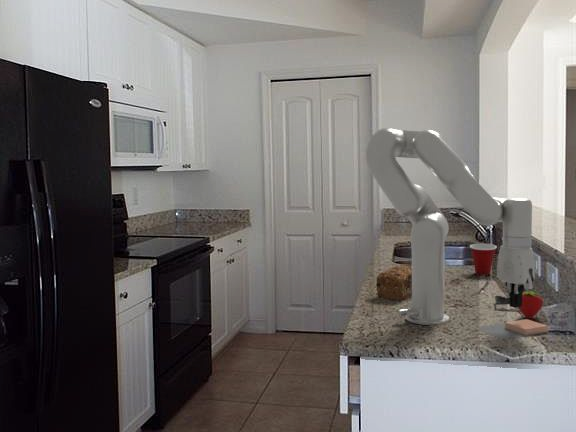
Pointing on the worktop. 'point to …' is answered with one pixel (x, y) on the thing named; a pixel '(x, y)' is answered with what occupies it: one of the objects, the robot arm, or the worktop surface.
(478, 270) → the plastic cup
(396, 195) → the robot arm
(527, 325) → the tile
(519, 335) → the mat
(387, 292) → the bread
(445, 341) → the worktop surface
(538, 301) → the strawberry
